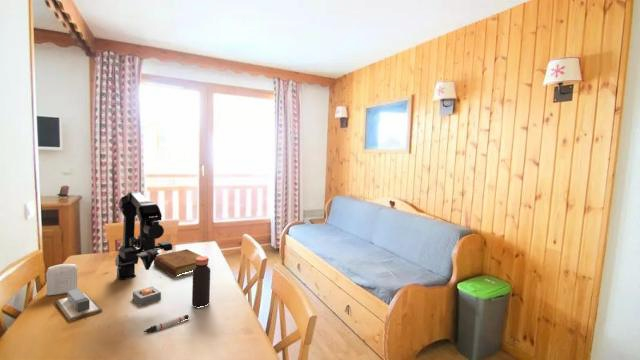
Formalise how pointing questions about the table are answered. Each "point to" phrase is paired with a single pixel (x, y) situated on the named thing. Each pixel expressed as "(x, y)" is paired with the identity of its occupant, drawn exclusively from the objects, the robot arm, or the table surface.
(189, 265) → the diary
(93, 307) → the drawing board
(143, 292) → the button
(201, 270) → the bottle
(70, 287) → the photo printer
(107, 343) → the table surface
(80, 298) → the grey rectangular block
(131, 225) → the robot arm
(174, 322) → the marker
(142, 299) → the button housing
